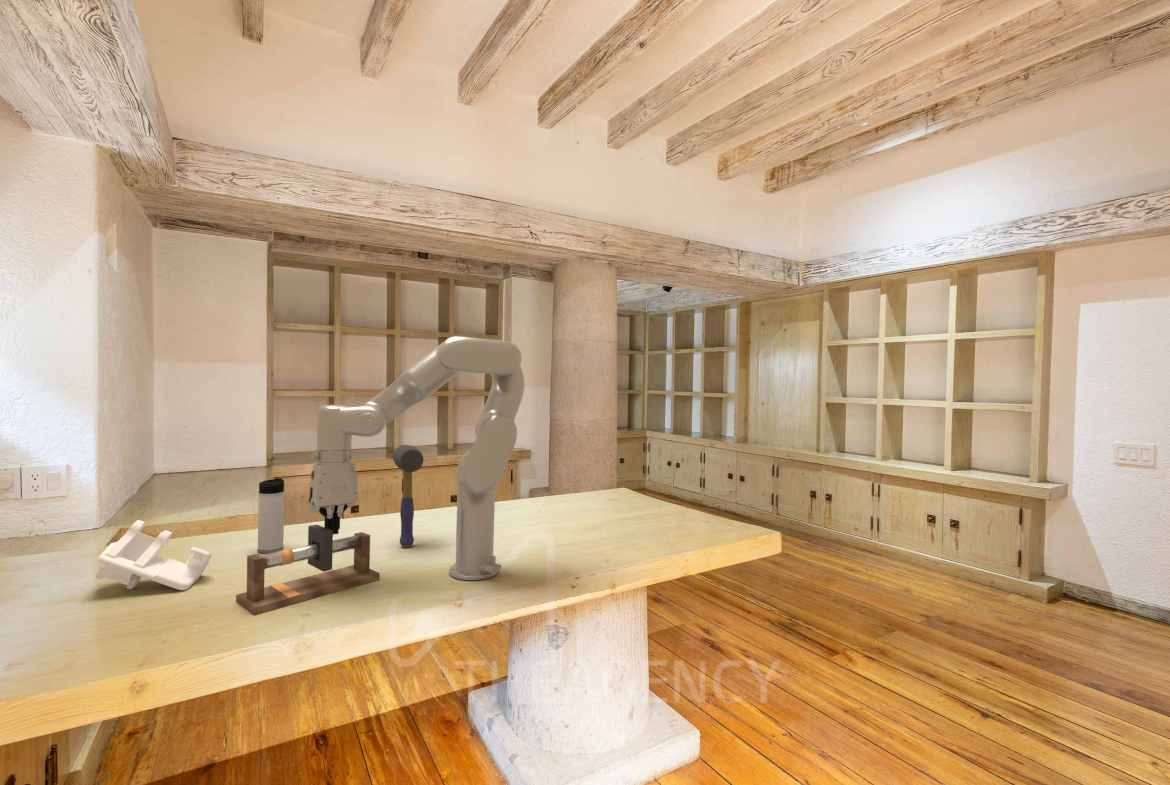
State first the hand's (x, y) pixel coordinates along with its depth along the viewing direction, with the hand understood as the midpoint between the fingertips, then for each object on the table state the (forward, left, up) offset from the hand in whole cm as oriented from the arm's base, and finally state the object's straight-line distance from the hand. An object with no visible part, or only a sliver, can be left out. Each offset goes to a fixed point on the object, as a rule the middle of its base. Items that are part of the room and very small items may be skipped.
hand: (332, 533), depth 128 cm
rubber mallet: (+13, -29, -12) cm, 34 cm away
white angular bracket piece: (+28, +27, -13) cm, 41 cm away
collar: (0, +3, -7) cm, 8 cm away
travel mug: (+37, -1, -13) cm, 39 cm away
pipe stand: (0, +4, -12) cm, 13 cm away
